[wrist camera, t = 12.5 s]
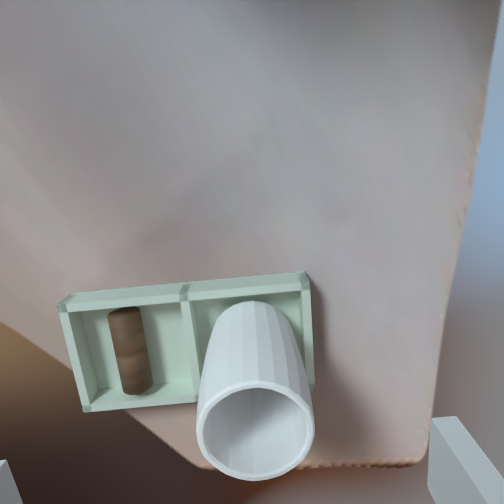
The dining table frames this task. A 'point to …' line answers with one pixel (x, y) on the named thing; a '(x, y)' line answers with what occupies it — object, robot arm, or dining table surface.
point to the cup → (254, 395)
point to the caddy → (172, 333)
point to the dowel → (130, 350)
